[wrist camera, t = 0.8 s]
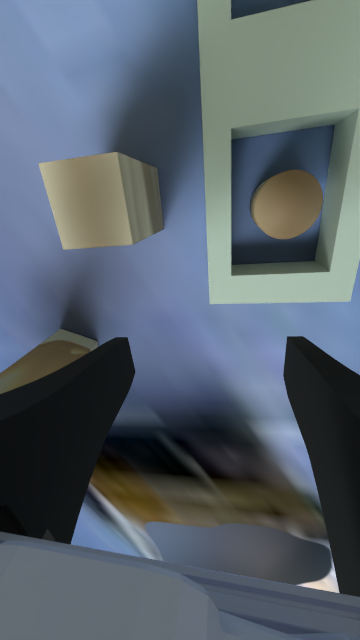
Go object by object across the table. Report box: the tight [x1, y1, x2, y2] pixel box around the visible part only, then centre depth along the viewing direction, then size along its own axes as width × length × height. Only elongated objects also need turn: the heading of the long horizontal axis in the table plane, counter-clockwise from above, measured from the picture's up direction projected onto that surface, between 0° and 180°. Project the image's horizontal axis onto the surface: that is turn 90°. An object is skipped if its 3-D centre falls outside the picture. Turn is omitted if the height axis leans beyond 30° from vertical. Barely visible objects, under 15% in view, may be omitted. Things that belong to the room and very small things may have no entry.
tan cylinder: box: [250, 170, 323, 239], centre depth 15 cm, size 3×3×4 cm
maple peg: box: [39, 152, 164, 250], centre depth 15 cm, size 4×4×7 cm
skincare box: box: [0, 329, 98, 394], centre depth 21 cm, size 6×4×12 cm
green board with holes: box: [197, 0, 360, 304], centre depth 13 cm, size 9×24×3 cm, turn 5°
